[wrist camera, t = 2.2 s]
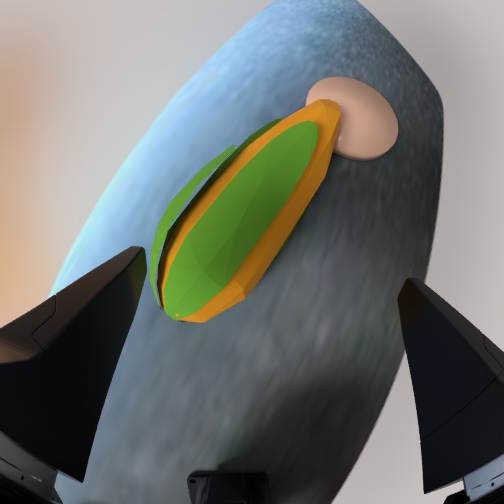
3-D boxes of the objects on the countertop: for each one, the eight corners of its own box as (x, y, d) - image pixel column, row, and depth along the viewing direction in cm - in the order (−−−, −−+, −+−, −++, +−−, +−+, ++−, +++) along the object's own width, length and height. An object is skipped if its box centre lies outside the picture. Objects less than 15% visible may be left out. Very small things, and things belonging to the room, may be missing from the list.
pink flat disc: (402, 163, 24) (408, 158, 23) (312, 159, 24) (315, 152, 23) (379, 89, 26) (383, 83, 25) (297, 80, 25) (299, 72, 24)
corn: (97, 271, 14) (304, 42, 17) (135, 278, 21) (283, 99, 25) (213, 362, 14) (391, 101, 17) (214, 338, 21) (350, 145, 25)
